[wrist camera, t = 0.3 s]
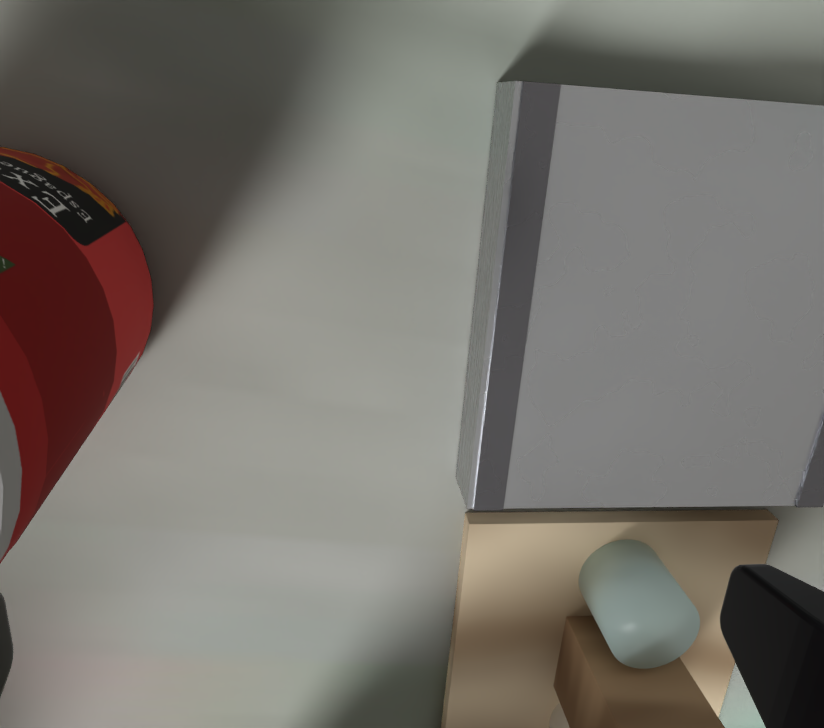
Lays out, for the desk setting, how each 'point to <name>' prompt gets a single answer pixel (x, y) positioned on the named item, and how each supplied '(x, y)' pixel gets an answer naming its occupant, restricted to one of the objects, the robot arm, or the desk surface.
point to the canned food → (60, 324)
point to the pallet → (548, 588)
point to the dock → (647, 303)
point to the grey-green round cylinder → (638, 604)
